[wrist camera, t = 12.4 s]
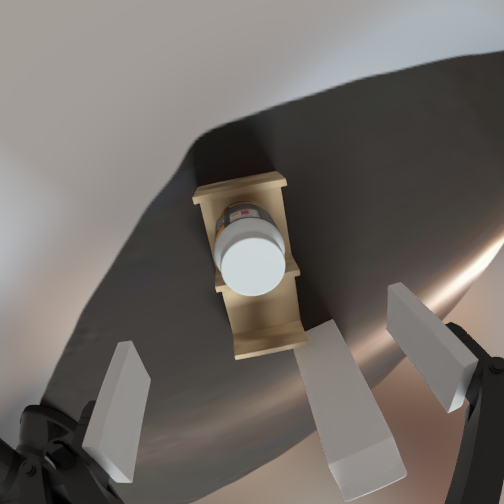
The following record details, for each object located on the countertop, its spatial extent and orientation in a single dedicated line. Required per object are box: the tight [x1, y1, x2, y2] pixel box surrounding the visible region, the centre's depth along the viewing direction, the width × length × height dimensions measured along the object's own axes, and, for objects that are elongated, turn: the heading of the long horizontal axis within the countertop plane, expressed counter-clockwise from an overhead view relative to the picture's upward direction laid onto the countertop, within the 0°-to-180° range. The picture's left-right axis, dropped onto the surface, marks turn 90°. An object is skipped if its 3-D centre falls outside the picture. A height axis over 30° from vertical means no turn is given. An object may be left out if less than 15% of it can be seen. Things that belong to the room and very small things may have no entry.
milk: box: [293, 319, 407, 502], centre depth 30 cm, size 6×6×22 cm
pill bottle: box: [214, 200, 285, 296], centre depth 27 cm, size 6×6×10 cm
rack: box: [193, 171, 309, 360], centre depth 32 cm, size 8×18×5 cm, turn 10°
